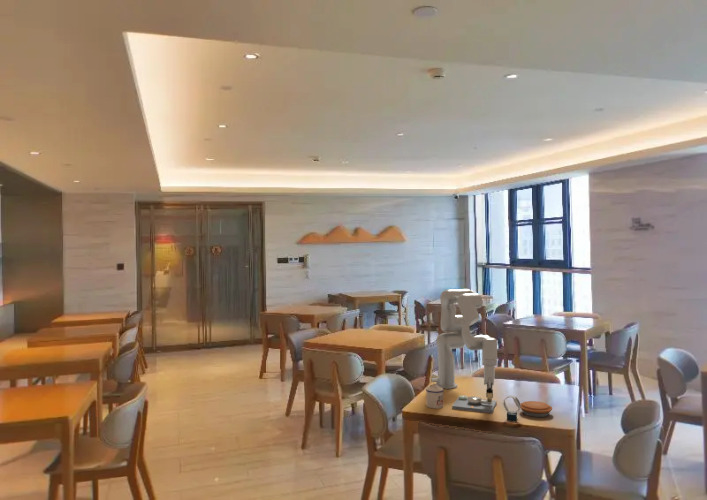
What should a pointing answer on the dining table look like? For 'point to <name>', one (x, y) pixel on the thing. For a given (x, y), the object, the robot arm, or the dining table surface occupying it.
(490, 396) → the footscrew knob
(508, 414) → the watch
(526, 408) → the pie
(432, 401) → the teacup with lid
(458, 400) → the base plate
